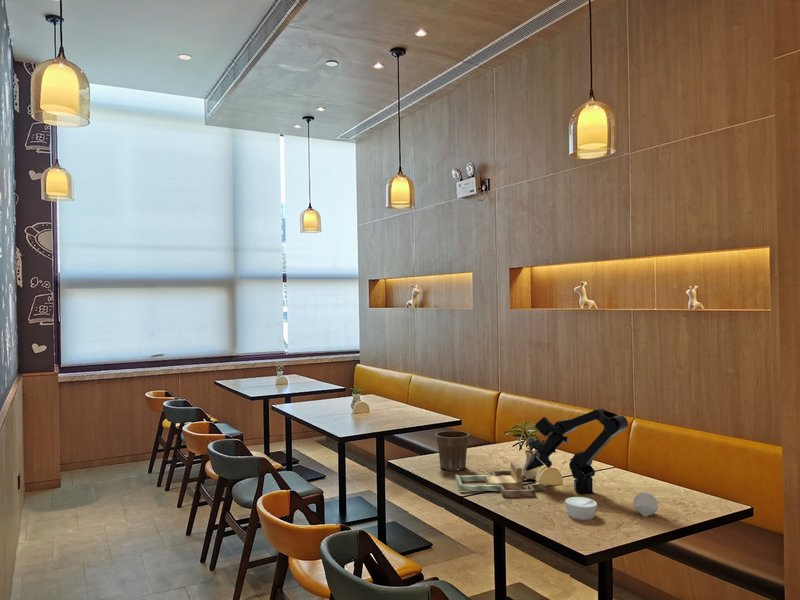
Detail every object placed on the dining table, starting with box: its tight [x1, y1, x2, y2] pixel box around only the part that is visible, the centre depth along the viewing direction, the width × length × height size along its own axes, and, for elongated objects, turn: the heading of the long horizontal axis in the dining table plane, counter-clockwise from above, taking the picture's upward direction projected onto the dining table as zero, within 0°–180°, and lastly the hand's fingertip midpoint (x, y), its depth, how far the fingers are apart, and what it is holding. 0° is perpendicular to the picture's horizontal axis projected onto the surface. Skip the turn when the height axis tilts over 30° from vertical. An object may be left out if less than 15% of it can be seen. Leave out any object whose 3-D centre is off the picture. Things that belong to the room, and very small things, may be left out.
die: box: [632, 491, 659, 518], centre depth 221 cm, size 8×9×10 cm
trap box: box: [455, 469, 545, 498], centre depth 257 cm, size 35×29×3 cm
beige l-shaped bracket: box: [484, 461, 524, 490], centre depth 257 cm, size 14×10×9 cm
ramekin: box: [564, 496, 598, 521], centre depth 220 cm, size 11×11×5 cm
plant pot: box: [435, 430, 470, 471], centre depth 286 cm, size 16×16×16 cm
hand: (526, 470), depth 257 cm, fingers closed
